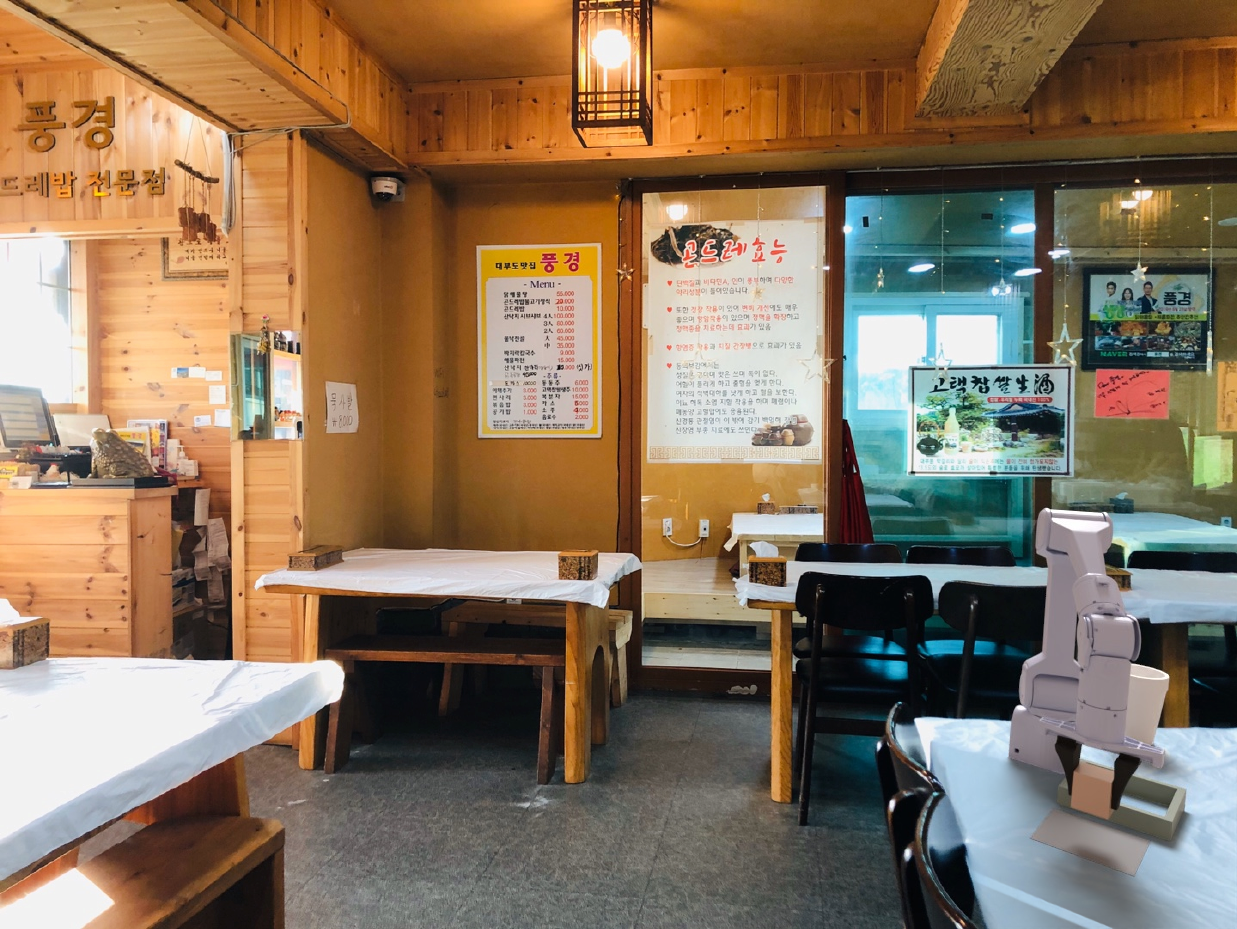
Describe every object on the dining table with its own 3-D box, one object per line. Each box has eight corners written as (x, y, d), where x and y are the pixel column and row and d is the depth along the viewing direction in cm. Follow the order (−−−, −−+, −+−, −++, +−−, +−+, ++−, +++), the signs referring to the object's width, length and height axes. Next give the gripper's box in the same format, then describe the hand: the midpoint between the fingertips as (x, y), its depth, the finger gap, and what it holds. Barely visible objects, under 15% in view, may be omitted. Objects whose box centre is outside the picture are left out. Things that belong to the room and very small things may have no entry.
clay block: (1070, 807, 106) (1073, 771, 105) (1078, 796, 109) (1081, 761, 108) (1108, 819, 103) (1111, 783, 102) (1115, 808, 106) (1118, 772, 105)
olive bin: (1056, 808, 116) (1058, 785, 116) (1079, 779, 126) (1080, 758, 126) (1170, 846, 106) (1172, 822, 106) (1184, 811, 117) (1186, 789, 116)
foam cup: (1154, 734, 147) (1160, 667, 146) (1170, 754, 138) (1177, 682, 137) (1096, 726, 150) (1102, 660, 149) (1109, 744, 141) (1115, 674, 140)
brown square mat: (1029, 843, 106) (1029, 838, 106) (1052, 813, 114) (1053, 808, 114) (1133, 882, 97) (1134, 876, 97) (1150, 846, 106) (1150, 840, 106)
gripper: (1034, 695, 107) (1027, 790, 108) (1162, 727, 97) (1152, 832, 98) (1048, 683, 112) (1041, 774, 113) (1170, 712, 102) (1161, 812, 103)
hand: (1093, 800), depth 106 cm, fingers closed on clay block, 4 cm apart
